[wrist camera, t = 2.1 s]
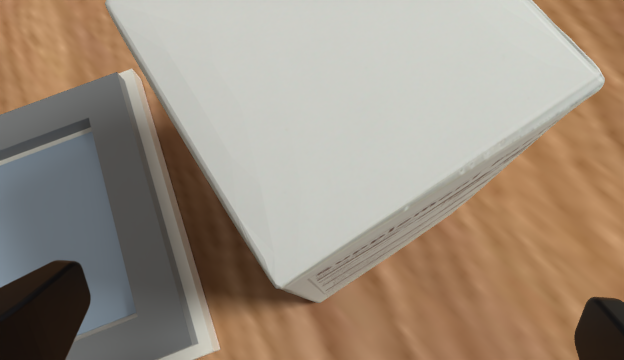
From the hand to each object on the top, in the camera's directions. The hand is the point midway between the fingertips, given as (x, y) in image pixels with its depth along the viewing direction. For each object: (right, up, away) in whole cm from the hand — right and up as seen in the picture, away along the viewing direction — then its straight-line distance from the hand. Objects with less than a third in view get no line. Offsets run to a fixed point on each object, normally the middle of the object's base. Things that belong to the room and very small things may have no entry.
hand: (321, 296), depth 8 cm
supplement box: (+1, +1, +13) cm, 13 cm away
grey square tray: (-13, -1, +13) cm, 18 cm away
